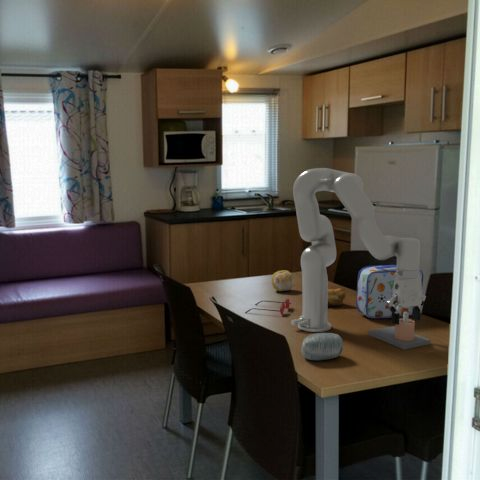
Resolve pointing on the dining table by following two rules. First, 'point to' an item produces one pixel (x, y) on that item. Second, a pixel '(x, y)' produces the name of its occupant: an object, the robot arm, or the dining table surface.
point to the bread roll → (336, 296)
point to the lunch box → (378, 291)
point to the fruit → (282, 280)
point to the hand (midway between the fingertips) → (405, 321)
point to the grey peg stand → (389, 337)
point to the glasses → (275, 310)
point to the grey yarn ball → (322, 346)
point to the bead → (405, 330)
